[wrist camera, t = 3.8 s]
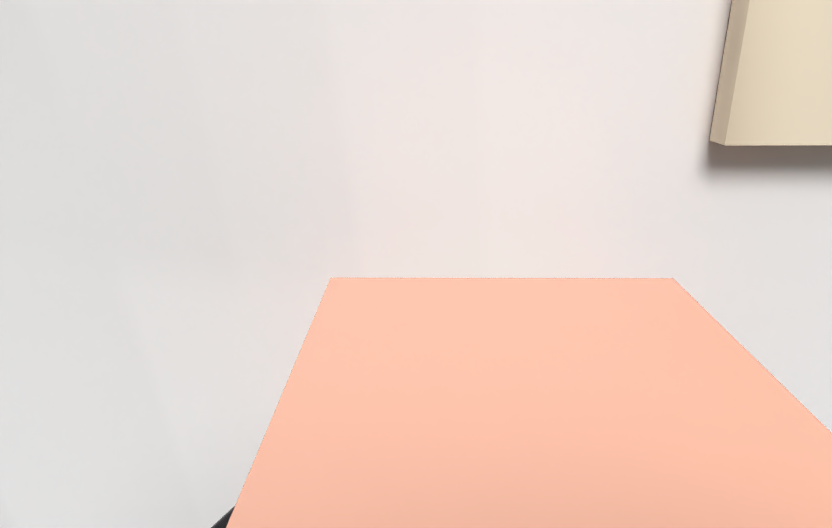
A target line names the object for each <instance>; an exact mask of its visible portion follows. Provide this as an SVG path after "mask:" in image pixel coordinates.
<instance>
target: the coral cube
mask: <svg viewBox="0 0 832 528" xmlns="http://www.w3.org/2000/svg"><path fill="white" fill-rule="evenodd" d="M226 528H832V433H831V432H830V431H829V430H828V429H827V428H826V427H825V426H824V425H823V424H822V423H821V422H820V421H819V420H818V419H817V418H816V417H815V416H814V415H813V414H812V413H811V412H810V411H809V410H808V409H807V408H806V407H804V406H803V405H802V404H801V403H800V402H799V401H798V400H797V399H796V398H795V397H794V396H793V395H792V394H791V393H790V392H789V391H788V390H787V389H786V388H785V387H784V386H783V385H782V384H781V383H780V382H779V381H778V380H777V379H776V378H775V377H774V376H773V375H772V374H771V373H770V372H769V371H768V370H767V369H765V368H764V367H763V366H762V365H761V364H760V363H759V362H758V361H757V360H756V359H755V358H754V357H753V356H752V355H751V354H750V353H749V352H748V351H747V350H746V349H745V348H744V347H743V346H742V345H741V344H740V343H739V342H738V341H737V340H736V339H735V338H734V337H733V336H732V335H731V334H730V333H729V332H728V331H727V330H725V329H724V328H723V327H722V326H721V325H720V324H719V323H718V322H717V321H716V320H715V319H714V318H713V317H712V316H711V315H710V314H709V313H708V312H707V311H706V310H705V309H704V308H703V307H702V306H701V305H700V304H699V303H698V302H697V301H696V300H695V299H694V298H693V297H692V296H691V295H690V294H689V293H688V292H687V291H685V290H684V289H683V288H682V287H681V286H680V285H679V284H678V283H677V282H676V281H675V280H674V279H673V278H330V281H329V283H328V285H327V288H326V290H325V293H324V295H323V297H322V300H321V302H320V305H319V307H318V309H317V312H316V314H315V316H314V319H313V321H312V324H311V326H310V328H309V331H308V333H307V336H306V338H305V340H304V343H303V345H302V348H301V350H300V352H299V355H298V357H297V359H296V362H295V364H294V367H293V369H292V371H291V374H290V376H289V379H288V381H287V383H286V386H285V388H284V391H283V393H282V395H281V398H280V400H279V402H278V405H277V407H276V410H275V412H274V414H273V417H272V419H271V422H270V424H269V426H268V429H267V431H266V433H265V436H264V438H263V441H262V443H261V445H260V448H259V450H258V453H257V455H256V457H255V460H254V462H253V465H252V467H251V469H250V472H249V474H248V476H247V479H246V481H245V484H244V486H243V488H242V491H241V493H240V496H239V498H238V500H237V503H236V505H235V508H234V510H233V512H232V515H231V517H230V519H229V522H228V524H227V527H226Z"/></svg>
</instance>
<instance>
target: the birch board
mask: <svg viewBox="0 0 832 528" xmlns="http://www.w3.org/2000/svg"><path fill="white" fill-rule="evenodd" d="M709 140H710V141H713V142H716V143H719V144H722V145H724V146H759V145H832V0H732V5H731V11H730V18H729V24H728V30H727V36H726V42H725V48H724V54H723V60H722V66H721V72H720V78H719V84H718V90H717V97H716V103H715V109H714V115H713V121H712V127H711V133H710V139H709Z"/></svg>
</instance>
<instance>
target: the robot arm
mask: <svg viewBox="0 0 832 528" xmlns="http://www.w3.org/2000/svg"><path fill="white" fill-rule="evenodd" d="M234 508H235V506H234V507H233V508H232V509H231V510H230V511H229V512H228V513H226V514H225V515H224V516H223V517H222V518H221V519H220V520H219V521H218V522H217V523H216V524H215V525H214V526H213V527H211V528H226V527H227V524H228V522H229V519H230V517H231V515H232V512H233V510H234Z"/></svg>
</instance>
